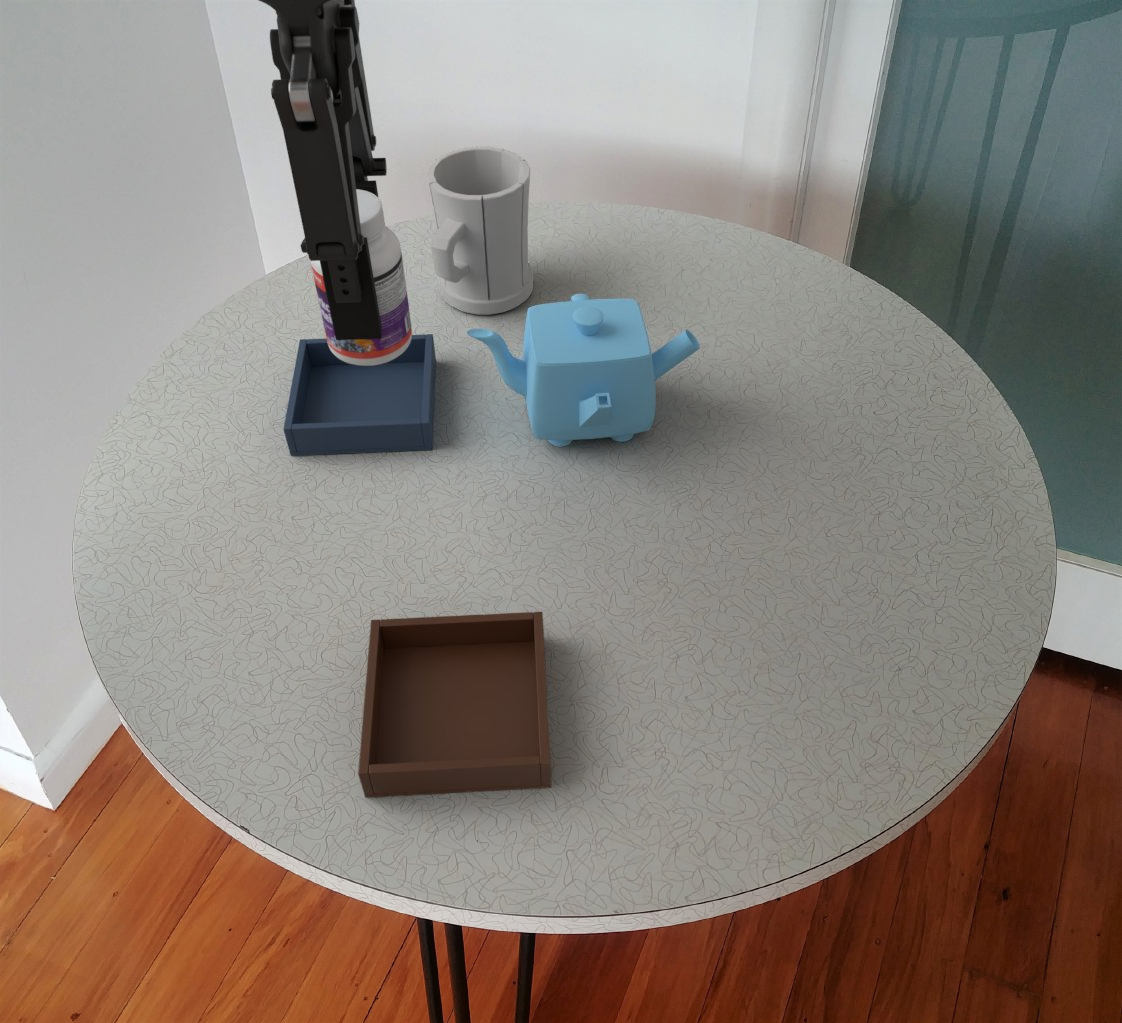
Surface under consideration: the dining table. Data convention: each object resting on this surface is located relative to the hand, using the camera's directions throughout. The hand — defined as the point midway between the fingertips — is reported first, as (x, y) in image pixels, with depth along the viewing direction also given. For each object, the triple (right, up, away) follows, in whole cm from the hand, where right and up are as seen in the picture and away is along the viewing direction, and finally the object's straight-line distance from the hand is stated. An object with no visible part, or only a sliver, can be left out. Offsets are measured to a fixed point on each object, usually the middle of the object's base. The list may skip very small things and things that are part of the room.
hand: (363, 304), depth 66 cm
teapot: (+14, -6, +21) cm, 26 cm away
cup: (+5, +7, +33) cm, 34 cm away
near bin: (+6, -26, +2) cm, 26 cm away
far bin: (-4, -4, +22) cm, 23 cm away
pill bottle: (0, -2, +2) cm, 3 cm away
